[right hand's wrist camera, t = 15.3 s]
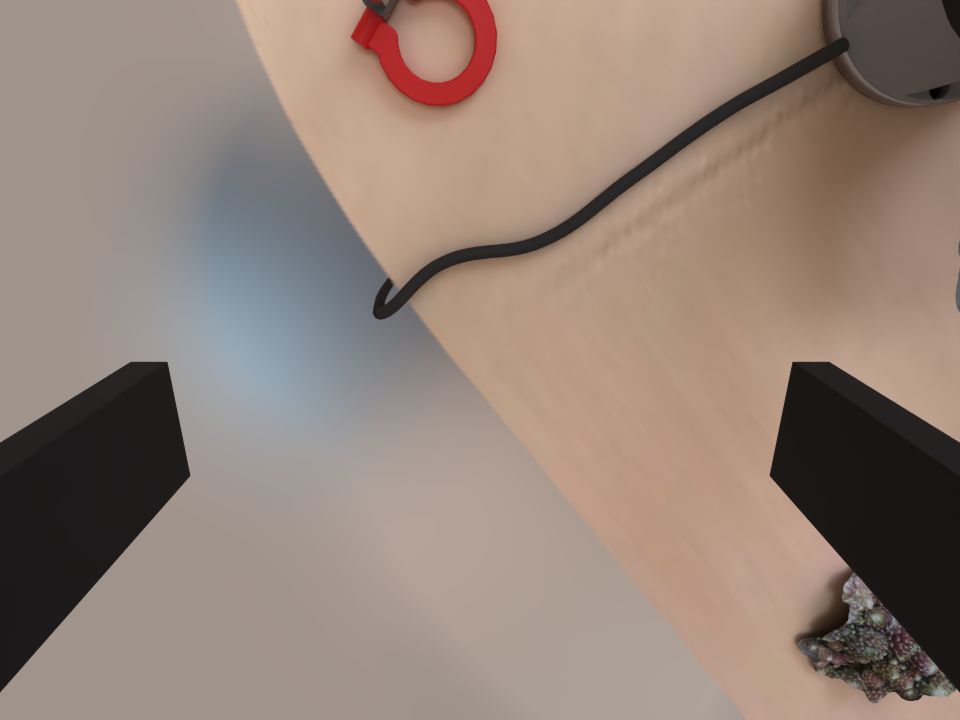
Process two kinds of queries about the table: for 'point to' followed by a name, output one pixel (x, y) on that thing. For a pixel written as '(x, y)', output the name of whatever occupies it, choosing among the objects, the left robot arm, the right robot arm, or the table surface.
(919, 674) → the coral
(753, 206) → the table surface
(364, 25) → the tow hook
